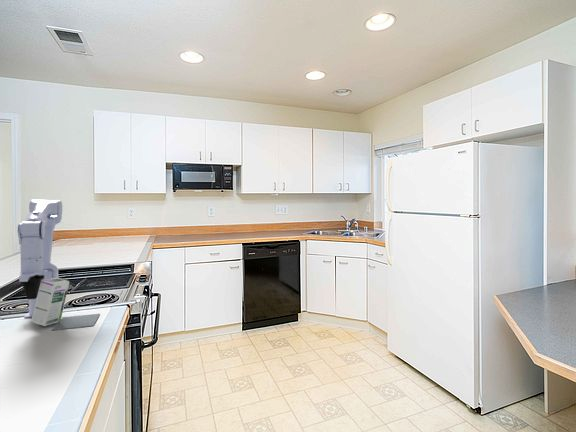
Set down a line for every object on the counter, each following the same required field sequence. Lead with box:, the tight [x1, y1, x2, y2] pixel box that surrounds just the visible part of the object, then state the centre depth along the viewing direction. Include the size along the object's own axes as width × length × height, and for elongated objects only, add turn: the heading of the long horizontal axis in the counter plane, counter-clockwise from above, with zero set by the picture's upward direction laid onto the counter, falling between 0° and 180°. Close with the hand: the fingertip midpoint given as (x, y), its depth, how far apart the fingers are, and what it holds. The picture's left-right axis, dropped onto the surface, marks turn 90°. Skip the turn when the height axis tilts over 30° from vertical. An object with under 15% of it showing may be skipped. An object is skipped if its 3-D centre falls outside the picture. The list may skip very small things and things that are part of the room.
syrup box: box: [31, 277, 70, 327], centre depth 105 cm, size 6×6×14 cm
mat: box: [51, 313, 101, 332], centre depth 108 cm, size 12×12×1 cm
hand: (32, 298), depth 103 cm, fingers closed
